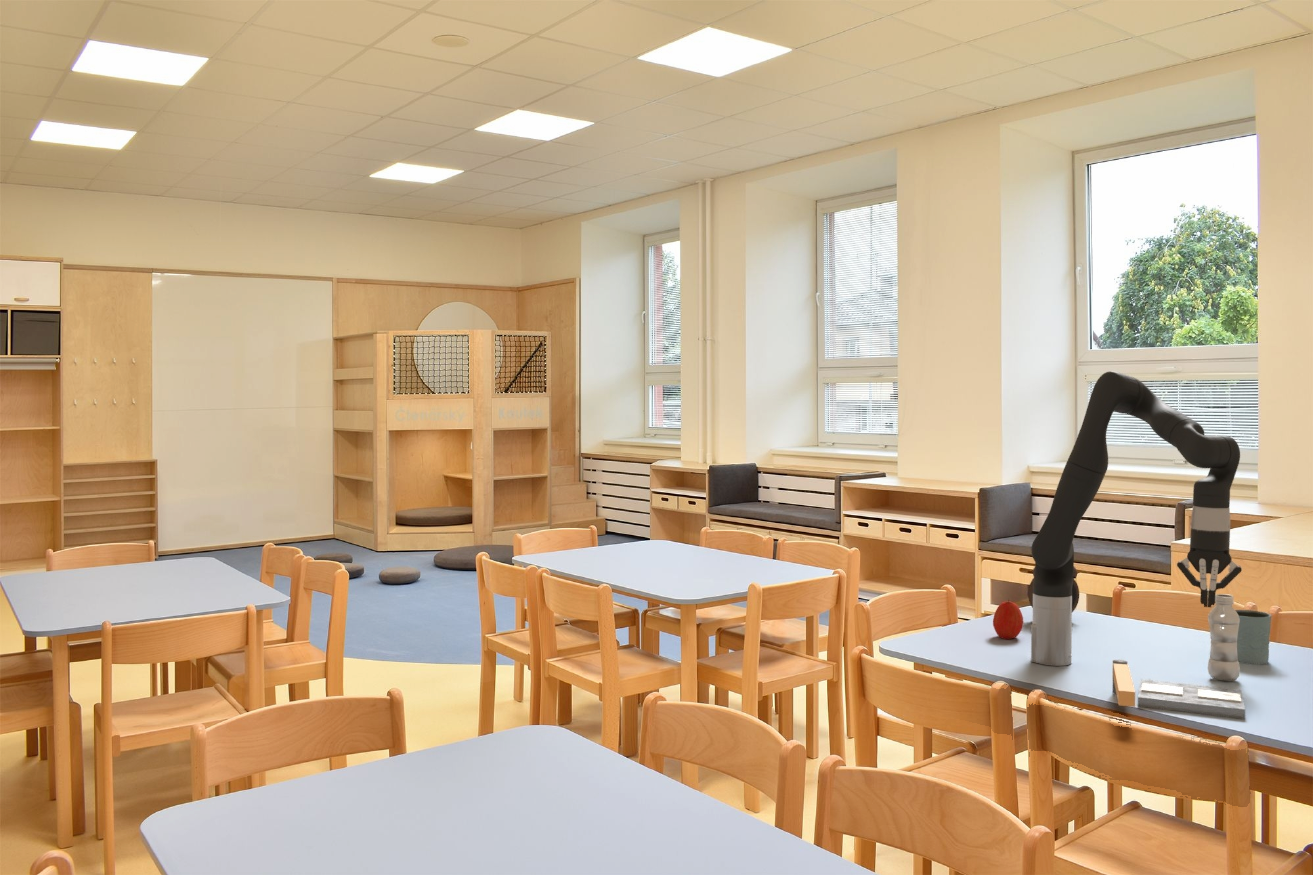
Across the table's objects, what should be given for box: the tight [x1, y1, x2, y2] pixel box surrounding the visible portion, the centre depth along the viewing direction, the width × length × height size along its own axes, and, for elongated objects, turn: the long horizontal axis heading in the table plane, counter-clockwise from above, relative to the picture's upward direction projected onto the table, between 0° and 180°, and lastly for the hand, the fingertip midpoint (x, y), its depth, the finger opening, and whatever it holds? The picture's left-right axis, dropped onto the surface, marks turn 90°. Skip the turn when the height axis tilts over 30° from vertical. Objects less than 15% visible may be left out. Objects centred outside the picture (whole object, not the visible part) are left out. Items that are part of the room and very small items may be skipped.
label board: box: [1137, 678, 1246, 720], centre depth 221 cm, size 20×16×2 cm
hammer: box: [1112, 659, 1136, 708], centre depth 216 cm, size 27×3×7 cm, turn 158°
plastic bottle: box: [1207, 593, 1241, 682], centre depth 239 cm, size 6×7×20 cm
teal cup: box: [1235, 609, 1272, 665], centre depth 258 cm, size 10×10×12 cm
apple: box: [992, 599, 1024, 640], centre depth 284 cm, size 8×8×11 cm
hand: (1207, 606), depth 221 cm, fingers closed
